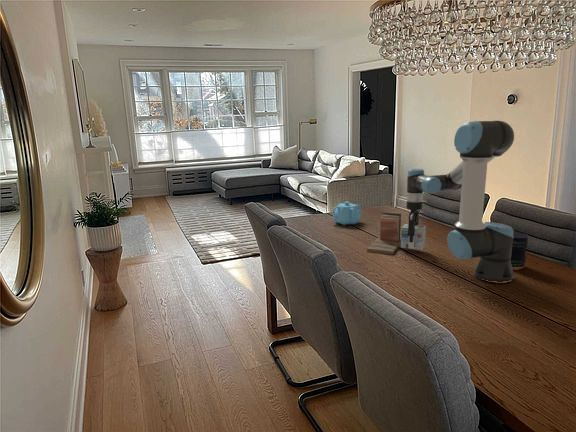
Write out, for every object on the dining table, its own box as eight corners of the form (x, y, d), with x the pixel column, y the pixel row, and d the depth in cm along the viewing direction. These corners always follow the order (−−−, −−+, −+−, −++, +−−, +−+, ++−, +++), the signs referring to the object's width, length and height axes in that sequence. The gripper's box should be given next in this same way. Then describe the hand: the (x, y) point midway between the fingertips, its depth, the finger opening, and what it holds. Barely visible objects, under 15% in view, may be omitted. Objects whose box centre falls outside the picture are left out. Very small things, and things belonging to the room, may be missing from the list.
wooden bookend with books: (392, 254, 218) (393, 224, 214) (366, 251, 224) (367, 221, 220) (402, 242, 237) (404, 213, 233) (378, 239, 243) (379, 211, 239)
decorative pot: (328, 224, 275) (328, 202, 272) (341, 218, 288) (341, 198, 285) (352, 228, 266) (353, 205, 263) (364, 221, 279) (364, 200, 276)
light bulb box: (400, 247, 221) (401, 226, 218) (403, 244, 227) (404, 223, 224) (422, 250, 216) (423, 228, 214) (425, 246, 222) (426, 225, 219)
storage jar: (522, 263, 202) (525, 232, 199) (527, 271, 193) (531, 238, 189) (498, 262, 205) (501, 230, 201) (502, 269, 196) (505, 237, 192)
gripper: (411, 196, 226) (409, 240, 231) (402, 204, 209) (400, 250, 214) (426, 197, 223) (424, 241, 228) (418, 205, 206) (416, 252, 211)
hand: (412, 246), depth 221 cm, fingers closed on light bulb box, 7 cm apart
